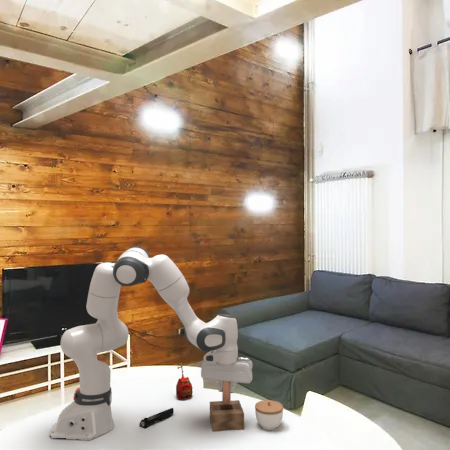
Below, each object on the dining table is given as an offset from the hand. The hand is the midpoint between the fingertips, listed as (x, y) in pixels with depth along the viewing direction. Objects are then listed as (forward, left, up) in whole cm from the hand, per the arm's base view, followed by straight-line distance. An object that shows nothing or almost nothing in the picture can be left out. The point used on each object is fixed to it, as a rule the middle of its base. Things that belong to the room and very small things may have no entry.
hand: (226, 392), depth 152 cm
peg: (0, 0, -4) cm, 4 cm away
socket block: (0, 0, -12) cm, 12 cm away
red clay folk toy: (-16, +27, -12) cm, 34 cm away
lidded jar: (+16, -4, -12) cm, 21 cm away
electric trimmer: (-27, +5, -12) cm, 30 cm away
